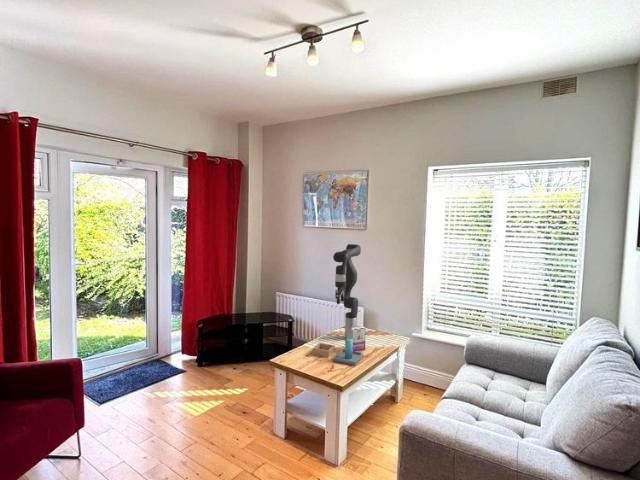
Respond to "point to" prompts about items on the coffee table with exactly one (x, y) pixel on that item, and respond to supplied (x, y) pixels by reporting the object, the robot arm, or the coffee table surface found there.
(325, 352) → the tan square open box
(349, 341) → the teal peg
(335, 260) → the robot arm
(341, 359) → the tray
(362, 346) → the candy bar box
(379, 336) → the coffee table surface
